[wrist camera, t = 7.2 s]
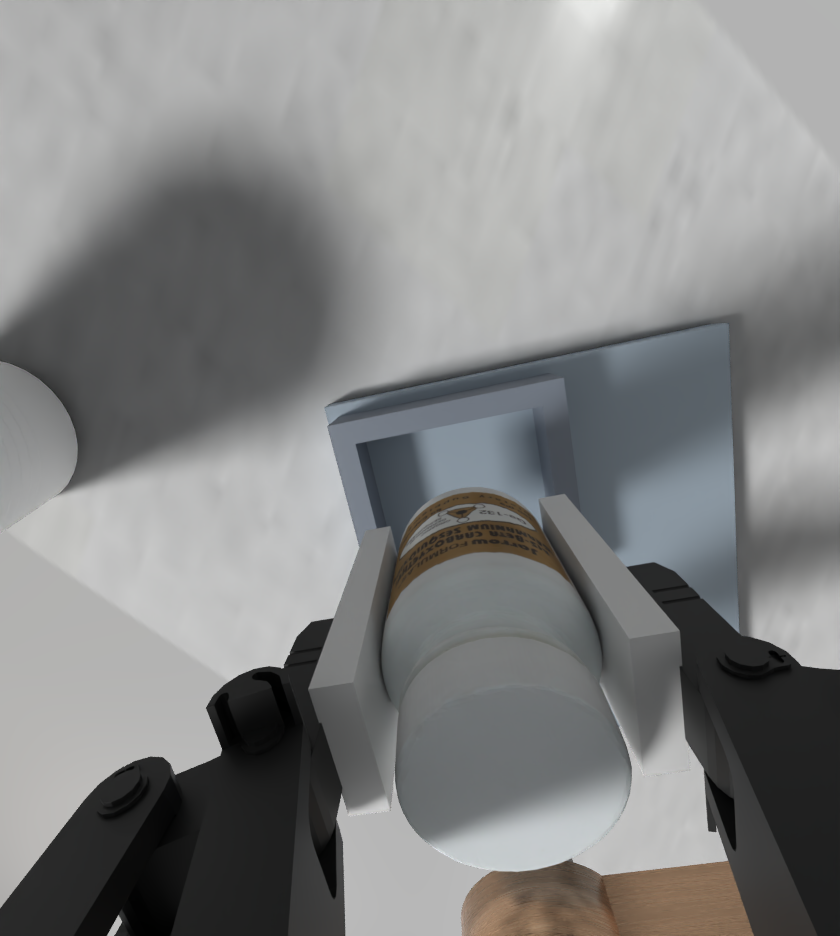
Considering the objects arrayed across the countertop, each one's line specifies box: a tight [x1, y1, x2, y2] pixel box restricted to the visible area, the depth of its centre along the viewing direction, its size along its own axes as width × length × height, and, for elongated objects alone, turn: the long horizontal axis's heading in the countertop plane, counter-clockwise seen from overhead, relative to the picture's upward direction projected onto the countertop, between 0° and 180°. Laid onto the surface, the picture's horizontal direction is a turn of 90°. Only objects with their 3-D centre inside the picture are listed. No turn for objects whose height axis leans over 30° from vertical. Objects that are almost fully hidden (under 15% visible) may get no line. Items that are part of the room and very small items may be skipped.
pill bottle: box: [381, 487, 632, 872], centre depth 10 cm, size 4×4×8 cm
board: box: [325, 323, 739, 871], centre depth 16 cm, size 17×15×10 cm
